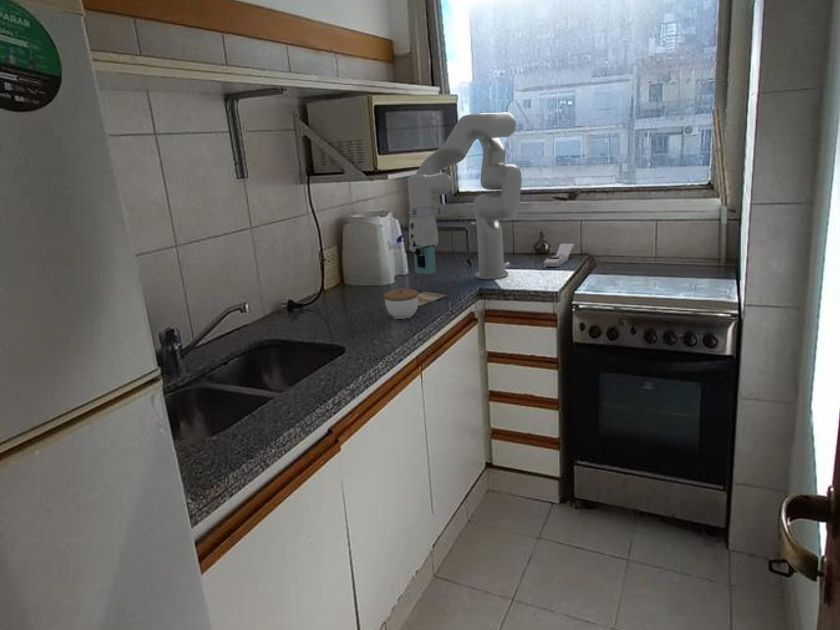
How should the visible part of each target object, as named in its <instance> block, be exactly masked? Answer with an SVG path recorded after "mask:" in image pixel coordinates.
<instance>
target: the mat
mask: <svg viewBox="0 0 840 630" xmlns="http://www.w3.org/2000/svg"><path fill="white" fill-rule="evenodd" d="M445 296H448V294H442V293H441V294H440V293H435V292H428V291H424V292H423V291H422V292H421V293H418V306H421V305H423V304H426V303H428V302H431V301H434V300H436V299H439V298H442V297H445ZM426 305H427V304H426ZM423 306H424V305H423ZM421 307H422V306H421Z"/></svg>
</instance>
